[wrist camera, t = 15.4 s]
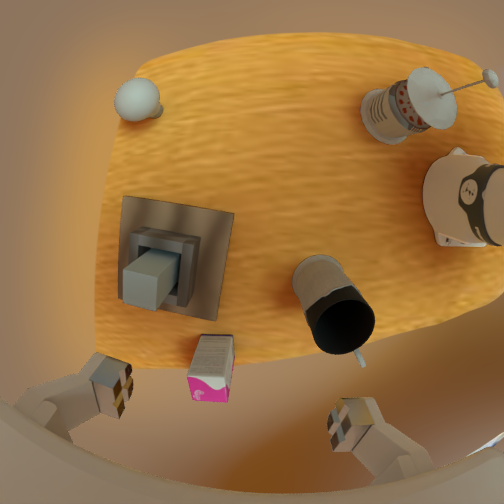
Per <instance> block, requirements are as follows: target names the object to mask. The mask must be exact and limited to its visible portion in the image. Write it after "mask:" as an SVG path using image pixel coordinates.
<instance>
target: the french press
mask: <svg viewBox="0 0 504 504" xmlns="http://www.w3.org/2000/svg"><path fill="white" fill-rule="evenodd" d="M482 75H483V79H484V80H481V81H478V82H474V83H471V84H468V85H465V86H462V87H459V88H456V89H453V90H451V88H450V86H449V84H448V83H447V82H446V81H445V80H444V79H443V78H442V76H441V75H439V74H438V73H436V72H434V71H433V70H431V69H429V68H428V67H423V68H422V67H421V68H418V69H415V70H413V71H412V73H411V74H410V75H409V77H408V79H407V80H402V81H398V82H396V83H395V85H391V86H390V87H388V88H386V89H375V90H372V91H370V92H368V93H367V94H366V95H365V97H364V98H363V99H362V103H361V108H360V112H361V117H362V122H363V123H364V125H365V127H366V129H367V131H368V132H369V133H370V134H371V135H372V136H373V137H374V138H375V139H376V140H378V141H381V142H383V143H385V144H398V143H400V142H402V141H404V140H405V139H406V138H407V136H408V135H409V134H410V135H412V134H417V133H421V132H423V131H425V130H427V129H428V128H430V127H431V126H432V127H434V128H435V129H443V130H445V129H447V128H449V127H451V126H452V125H453V123H454V121H455V120H456V115H457V105H456V100H455V96H454V94H453V92H454V91H457V90H460V89H463V88H466V87H470V86H473V85H476V84H479V83H482V82H485V83H486V84H487V85H488V86H489V87H490V88H496V87H497V86H498V77H497V75H496V74H495V73H494V72H493V71H492V70H489V69H485V70H483V72H482ZM413 126H414V128H413ZM412 128H413V129H412ZM415 128H416V129H415ZM411 129H412V130H411ZM414 129H415V130H414ZM417 129H419V130H420V129H422V130H421V131H419V130H417ZM410 130H411V131H410ZM413 130H414V131H413ZM416 130H417V131H416ZM415 131H416V132H415ZM418 131H419V132H418Z"/></svg>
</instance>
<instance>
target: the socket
mask: <svg viewBox="0 0 504 504" xmlns="http://www.w3.org/2000/svg"><path fill="white" fill-rule="evenodd" d="M233 218H234V213H229V212H224V211H218V210H213V209H207V208H201V207H195V206H189V205H183V204H177V203H171V202H165V201H159V200H152V199H146V198H139V197H132V196H123V202H122V212H121V223H120V238H119V260H118V298H119V299H122V300H123V269H124V268H125V267H127V266H128V265H129V264H131V263H132V262H134V261H135V260H136V259H138V258H139V257H140V256H142V255H143V254H144V253H146V252H147V251H149V250H150V249H151V248H156V249H161V250H166V251H171V252H176V253H181V254H182V255H181V263H180V272H179V280H178V281H177V283H176V284H175V285H174V287H173V288H172V290H171V291H170V292H169V294H168V295H167V296H166V298H165V299H164V301H163V302H162V303H161V305H160V306H159V308H158V309H161V310H165V311H169V312H174V313H178V314H182V315H187V316H192V317H196V318H201V319H206V320H211V321H216V319H217V312H218V306H219V300H220V294H221V287H222V281H223V275H224V269H225V263H226V258H227V252H228V246H229V240H230V235H231V229H232V223H233Z"/></svg>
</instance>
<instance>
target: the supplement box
mask: <svg viewBox="0 0 504 504" xmlns="http://www.w3.org/2000/svg"><path fill="white" fill-rule="evenodd" d="M234 359H235V356H234V344H233V335H212V334H202V335H201V337H200V339H199V342H198V345H197V348H196V350H195V353H194V356H193V359H192V362H191V365H190V367H189V370H188V373H187V379H188V383H189V387H190V391H191V395H192V399H193V400H197V401H212V402H228V397H229V391H230V384H231V378H232V371H233V365H234Z"/></svg>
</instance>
